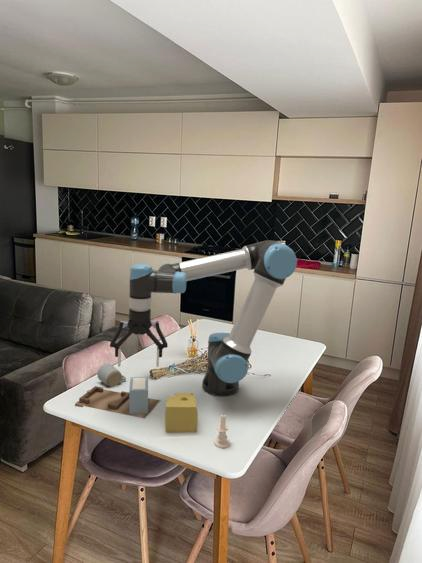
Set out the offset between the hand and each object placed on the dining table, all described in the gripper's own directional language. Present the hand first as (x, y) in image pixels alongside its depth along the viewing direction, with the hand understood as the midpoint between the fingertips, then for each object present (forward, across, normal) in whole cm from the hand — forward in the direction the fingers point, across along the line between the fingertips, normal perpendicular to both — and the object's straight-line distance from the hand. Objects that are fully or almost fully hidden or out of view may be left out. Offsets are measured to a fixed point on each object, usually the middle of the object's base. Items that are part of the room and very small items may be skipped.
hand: (138, 365), depth 153 cm
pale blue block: (+16, 0, +1) cm, 16 cm away
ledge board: (+16, +7, -3) cm, 18 cm away
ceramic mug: (+17, +11, -20) cm, 29 cm away
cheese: (+16, -15, +14) cm, 26 cm away
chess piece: (+16, -28, +25) cm, 41 cm away
